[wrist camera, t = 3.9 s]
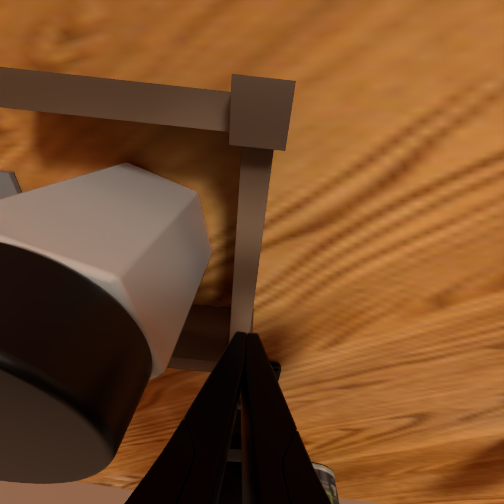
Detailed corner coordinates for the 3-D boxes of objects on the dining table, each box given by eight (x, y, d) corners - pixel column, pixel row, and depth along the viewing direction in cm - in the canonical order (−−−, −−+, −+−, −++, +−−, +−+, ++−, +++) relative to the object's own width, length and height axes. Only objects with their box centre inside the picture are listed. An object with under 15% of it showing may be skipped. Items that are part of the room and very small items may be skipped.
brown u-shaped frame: (251, 323, 20) (247, 399, 15) (107, 308, 20) (48, 379, 15) (280, 100, 12) (295, 80, 6) (36, 73, 12) (-165, 30, 6)
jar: (84, 252, 17) (-188, 449, 7) (90, 142, 13) (-517, 216, 3) (197, 291, 19) (113, 504, 8) (231, 202, 15) (156, 394, 4)
